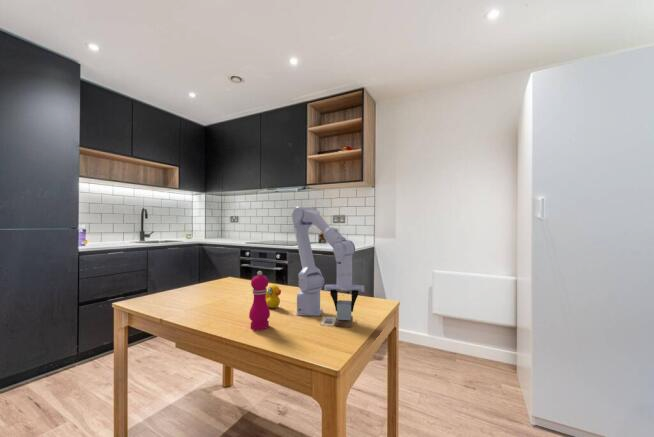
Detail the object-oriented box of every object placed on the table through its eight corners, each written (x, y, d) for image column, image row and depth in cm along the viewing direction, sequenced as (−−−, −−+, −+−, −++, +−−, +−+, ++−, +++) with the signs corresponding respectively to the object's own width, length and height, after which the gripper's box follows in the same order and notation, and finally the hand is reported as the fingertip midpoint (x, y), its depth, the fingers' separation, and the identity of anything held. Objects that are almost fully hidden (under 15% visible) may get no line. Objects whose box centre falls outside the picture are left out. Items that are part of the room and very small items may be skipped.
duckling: (285, 309, 117) (285, 286, 118) (274, 312, 114) (274, 288, 114) (271, 303, 126) (271, 281, 126) (260, 306, 122) (260, 283, 122)
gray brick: (336, 319, 98) (336, 304, 98) (338, 314, 103) (338, 300, 103) (350, 320, 97) (350, 304, 97) (351, 315, 102) (351, 300, 102)
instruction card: (320, 325, 99) (320, 324, 99) (323, 317, 107) (323, 316, 107) (334, 325, 99) (334, 324, 99) (336, 317, 107) (336, 317, 107)
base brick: (335, 326, 98) (335, 321, 98) (336, 320, 104) (336, 315, 104) (352, 327, 97) (352, 321, 97) (352, 321, 103) (352, 315, 103)
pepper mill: (259, 332, 93) (259, 273, 93) (244, 328, 97) (244, 271, 97) (274, 325, 99) (274, 270, 99) (259, 321, 103) (259, 268, 103)
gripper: (323, 275, 98) (323, 313, 97) (364, 276, 96) (364, 315, 96) (325, 271, 105) (325, 307, 104) (363, 272, 103) (363, 308, 103)
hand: (344, 310), depth 101 cm, fingers closed on gray brick, 5 cm apart
